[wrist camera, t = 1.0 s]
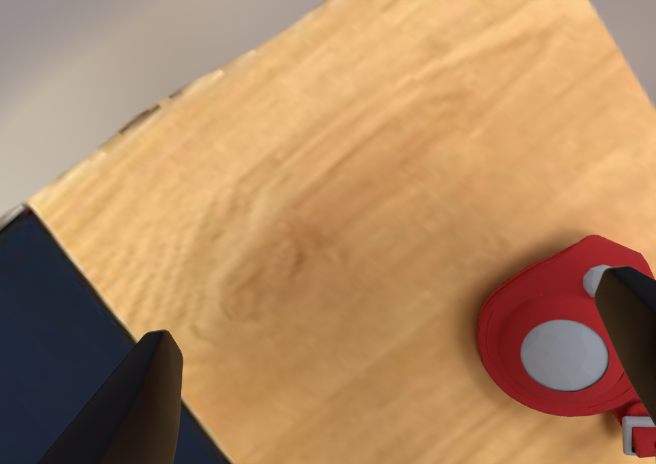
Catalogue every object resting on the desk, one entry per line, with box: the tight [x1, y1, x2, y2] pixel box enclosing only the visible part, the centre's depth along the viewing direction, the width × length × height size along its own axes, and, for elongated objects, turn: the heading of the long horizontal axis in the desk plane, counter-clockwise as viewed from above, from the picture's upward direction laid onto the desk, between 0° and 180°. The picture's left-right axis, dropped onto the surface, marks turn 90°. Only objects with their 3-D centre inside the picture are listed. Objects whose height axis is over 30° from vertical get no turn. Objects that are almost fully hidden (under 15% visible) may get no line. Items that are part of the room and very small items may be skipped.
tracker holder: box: [477, 235, 656, 458], centre depth 23 cm, size 12×4×10 cm
